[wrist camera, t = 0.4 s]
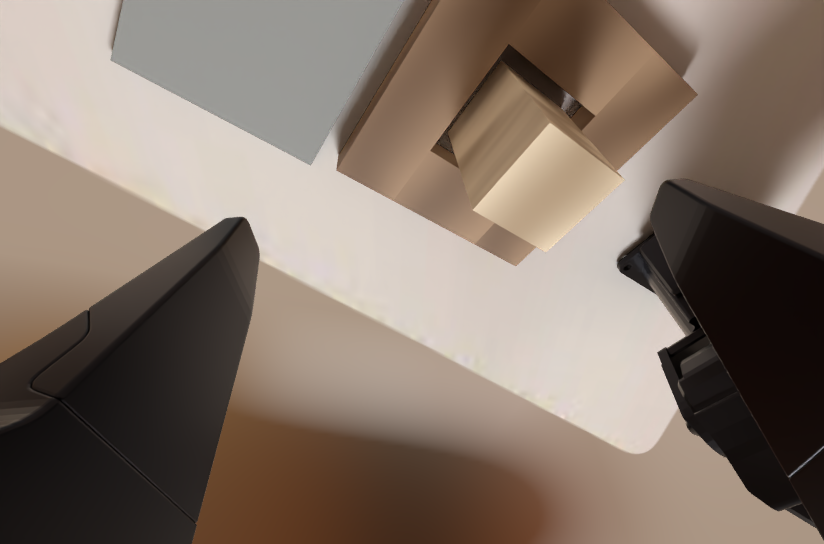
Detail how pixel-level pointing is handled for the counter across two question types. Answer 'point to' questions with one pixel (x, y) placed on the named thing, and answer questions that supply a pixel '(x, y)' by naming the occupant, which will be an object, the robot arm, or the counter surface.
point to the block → (527, 161)
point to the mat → (257, 59)
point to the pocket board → (464, 70)
